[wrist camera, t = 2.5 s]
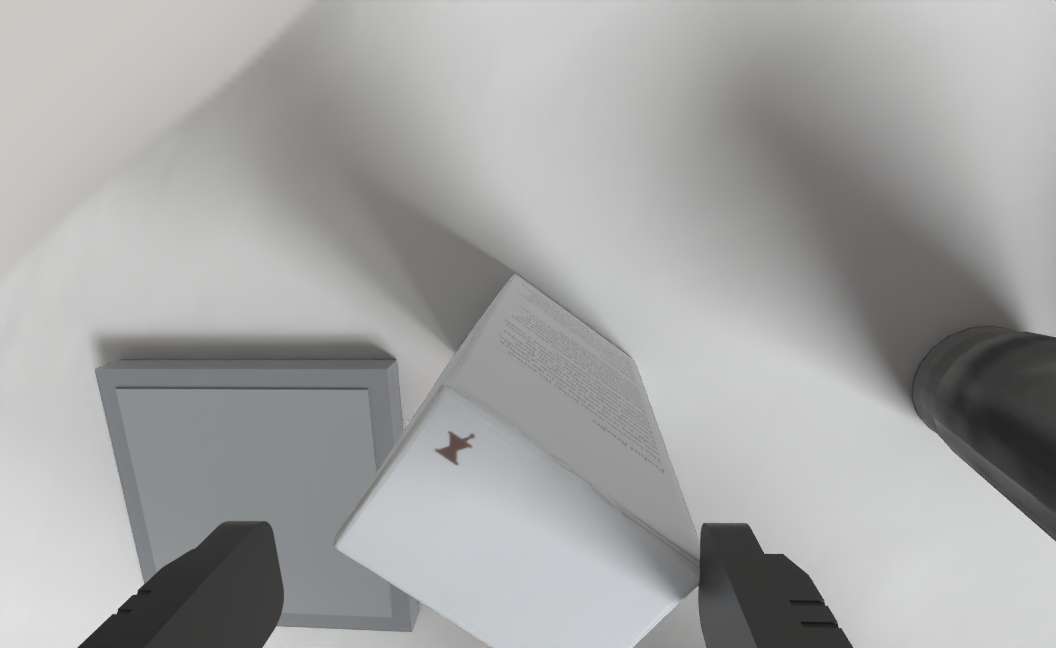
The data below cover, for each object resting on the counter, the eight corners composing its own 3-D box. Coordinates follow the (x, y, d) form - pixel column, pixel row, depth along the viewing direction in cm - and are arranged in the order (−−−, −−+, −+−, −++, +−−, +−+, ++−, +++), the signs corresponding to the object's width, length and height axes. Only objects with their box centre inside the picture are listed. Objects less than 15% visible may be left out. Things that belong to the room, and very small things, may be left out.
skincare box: (453, 355, 22) (317, 544, 10) (514, 269, 21) (441, 372, 9) (574, 441, 22) (576, 716, 11) (641, 362, 21) (722, 570, 10)
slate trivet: (396, 359, 22) (386, 370, 21) (419, 611, 25) (411, 633, 24) (118, 359, 23) (92, 370, 22) (171, 601, 26) (151, 622, 25)
